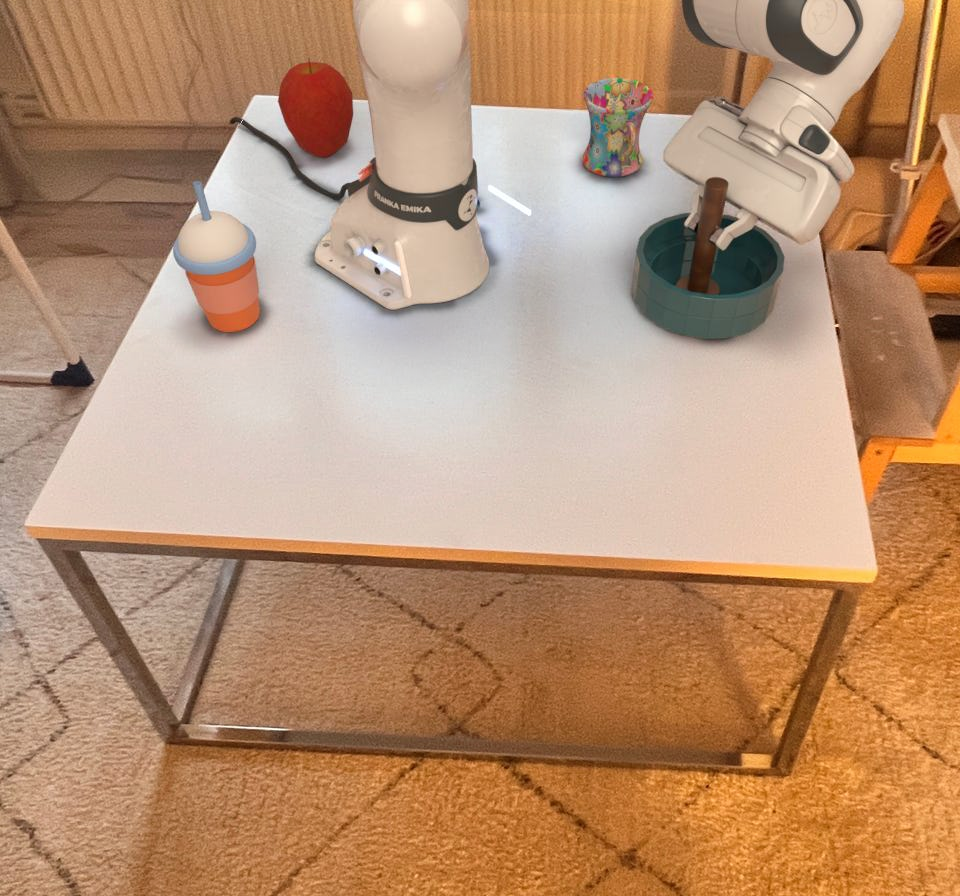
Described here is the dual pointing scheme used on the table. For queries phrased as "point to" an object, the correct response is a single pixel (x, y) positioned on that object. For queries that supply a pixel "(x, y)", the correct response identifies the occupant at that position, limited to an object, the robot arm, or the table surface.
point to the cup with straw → (220, 266)
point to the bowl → (737, 270)
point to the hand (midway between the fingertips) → (703, 238)
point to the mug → (615, 125)
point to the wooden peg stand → (706, 239)
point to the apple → (316, 107)
